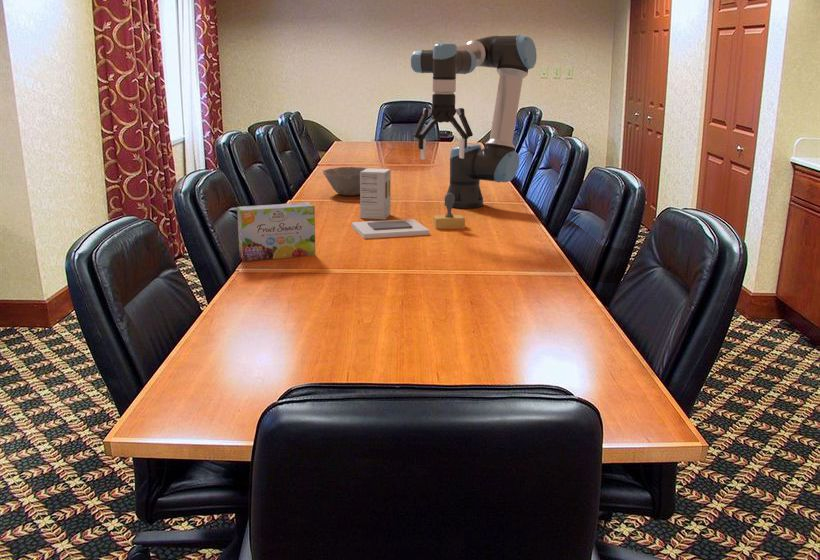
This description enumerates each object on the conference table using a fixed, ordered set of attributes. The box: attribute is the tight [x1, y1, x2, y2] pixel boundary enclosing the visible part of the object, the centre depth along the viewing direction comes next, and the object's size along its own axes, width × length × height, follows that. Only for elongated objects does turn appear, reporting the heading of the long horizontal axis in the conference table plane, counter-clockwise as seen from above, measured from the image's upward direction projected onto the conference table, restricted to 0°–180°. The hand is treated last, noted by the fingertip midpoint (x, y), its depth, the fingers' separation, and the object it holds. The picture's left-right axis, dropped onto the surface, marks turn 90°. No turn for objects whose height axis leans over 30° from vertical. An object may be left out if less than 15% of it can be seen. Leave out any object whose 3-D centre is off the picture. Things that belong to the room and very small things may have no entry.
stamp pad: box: [350, 218, 430, 240], centre depth 250 cm, size 22×18×2 cm
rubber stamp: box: [433, 192, 466, 230], centre depth 254 cm, size 10×6×12 cm, turn 97°
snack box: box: [236, 202, 316, 262], centre depth 215 cm, size 21×6×15 cm, turn 114°
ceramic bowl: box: [322, 166, 370, 196], centre depth 313 cm, size 22×23×10 cm
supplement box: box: [359, 168, 392, 221], centre depth 269 cm, size 10×9×17 cm
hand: (442, 158), depth 250 cm, fingers open, 13 cm apart
